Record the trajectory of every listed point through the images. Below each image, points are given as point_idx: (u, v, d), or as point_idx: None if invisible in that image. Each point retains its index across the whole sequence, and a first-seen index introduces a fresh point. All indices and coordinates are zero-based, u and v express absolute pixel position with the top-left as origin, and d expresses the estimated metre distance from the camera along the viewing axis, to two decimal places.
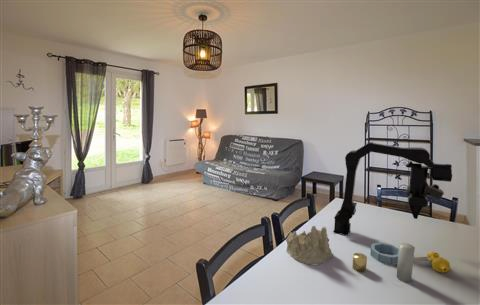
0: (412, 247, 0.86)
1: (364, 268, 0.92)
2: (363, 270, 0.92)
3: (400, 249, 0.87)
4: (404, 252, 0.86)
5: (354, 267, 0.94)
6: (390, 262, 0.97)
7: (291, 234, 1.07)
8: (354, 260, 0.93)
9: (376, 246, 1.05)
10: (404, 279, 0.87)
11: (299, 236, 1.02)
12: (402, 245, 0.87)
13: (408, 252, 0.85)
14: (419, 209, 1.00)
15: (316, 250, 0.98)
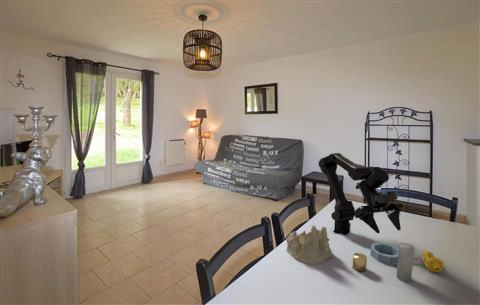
0: (412, 247, 0.86)
1: (364, 268, 0.92)
2: (363, 270, 0.92)
3: (399, 249, 0.87)
4: (404, 252, 0.86)
5: (354, 267, 0.94)
6: (390, 262, 0.97)
7: (291, 234, 1.07)
8: (354, 260, 0.93)
9: (376, 246, 1.05)
10: (404, 279, 0.87)
11: (299, 236, 1.02)
12: (402, 245, 0.87)
13: (408, 252, 0.85)
14: (371, 220, 0.95)
15: (316, 250, 0.99)
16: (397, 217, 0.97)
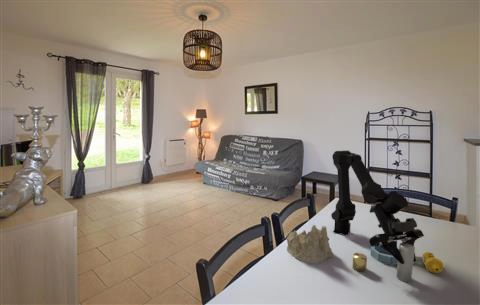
0: (412, 247, 0.86)
1: (364, 268, 0.92)
2: (363, 270, 0.92)
3: (400, 249, 0.87)
4: (404, 252, 0.86)
5: (354, 267, 0.94)
6: (390, 262, 0.97)
7: (291, 233, 1.07)
8: (354, 260, 0.93)
9: (376, 246, 1.05)
10: (404, 279, 0.87)
11: (299, 235, 1.03)
12: (402, 245, 0.87)
13: (409, 252, 0.85)
14: (394, 249, 0.87)
15: (316, 249, 0.99)
16: None
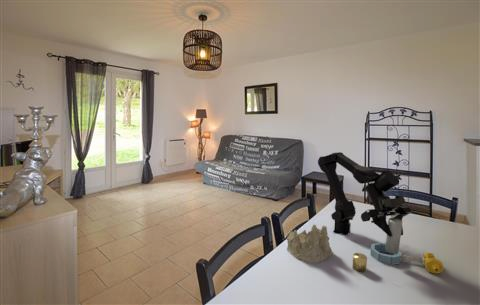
0: (400, 221, 0.93)
1: (364, 268, 0.92)
2: (363, 270, 0.92)
3: (388, 223, 0.94)
4: (392, 226, 0.93)
5: (354, 267, 0.94)
6: (390, 262, 0.97)
7: (292, 233, 1.08)
8: (354, 260, 0.93)
9: (376, 246, 1.05)
10: (392, 250, 0.94)
11: (300, 235, 1.03)
12: (391, 220, 0.94)
13: (396, 225, 0.92)
14: (383, 223, 0.95)
15: (317, 249, 0.99)
16: None
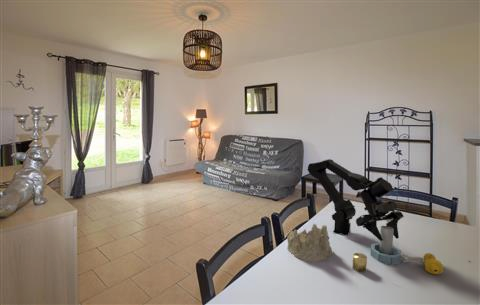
0: (391, 229, 0.99)
1: (364, 268, 0.92)
2: (363, 270, 0.92)
3: (381, 230, 1.00)
4: (384, 233, 0.99)
5: (354, 267, 0.94)
6: (390, 262, 0.97)
7: (292, 232, 1.08)
8: (354, 260, 0.93)
9: (376, 246, 1.05)
10: None
11: (300, 234, 1.03)
12: (383, 227, 1.01)
13: (388, 233, 0.98)
14: (374, 228, 1.00)
15: (317, 248, 1.00)
16: (395, 226, 1.02)
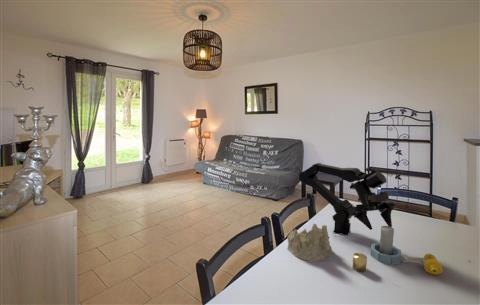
0: (392, 229, 0.99)
1: (364, 268, 0.92)
2: (363, 270, 0.92)
3: (381, 231, 1.00)
4: (385, 234, 0.99)
5: (354, 267, 0.94)
6: (390, 262, 0.97)
7: (292, 232, 1.08)
8: (354, 260, 0.93)
9: (376, 246, 1.05)
10: None
11: (300, 234, 1.04)
12: (383, 227, 1.00)
13: (388, 233, 0.98)
14: (364, 218, 1.04)
15: (317, 247, 1.00)
16: (389, 215, 1.06)
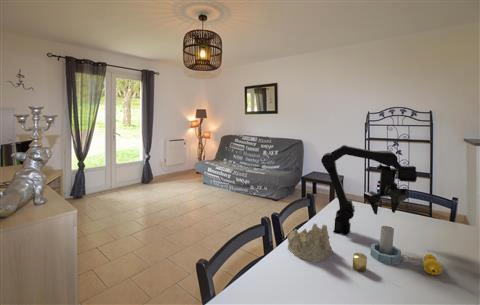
0: (392, 229, 0.99)
1: (364, 268, 0.92)
2: (363, 270, 0.92)
3: (381, 230, 1.00)
4: (385, 233, 0.99)
5: (354, 267, 0.94)
6: (390, 262, 0.97)
7: (292, 232, 1.08)
8: (354, 260, 0.93)
9: (376, 246, 1.05)
10: None
11: (300, 234, 1.04)
12: (383, 227, 1.01)
13: (388, 233, 0.98)
14: (374, 205, 1.12)
15: (317, 247, 1.00)
16: (397, 204, 1.14)
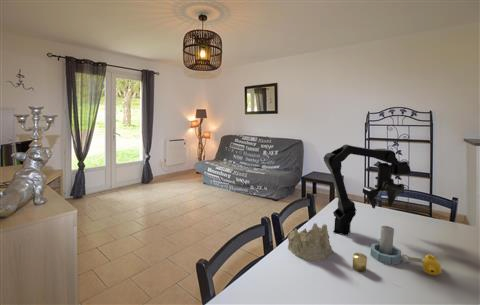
0: (392, 229, 0.99)
1: (364, 268, 0.92)
2: (363, 270, 0.92)
3: (381, 230, 1.00)
4: (385, 233, 0.99)
5: (354, 267, 0.94)
6: (390, 262, 0.97)
7: (292, 232, 1.09)
8: (354, 260, 0.93)
9: (376, 246, 1.05)
10: None
11: (300, 233, 1.04)
12: (383, 227, 1.01)
13: (388, 233, 0.98)
14: (373, 200, 1.19)
15: (317, 247, 1.01)
16: (394, 198, 1.21)
